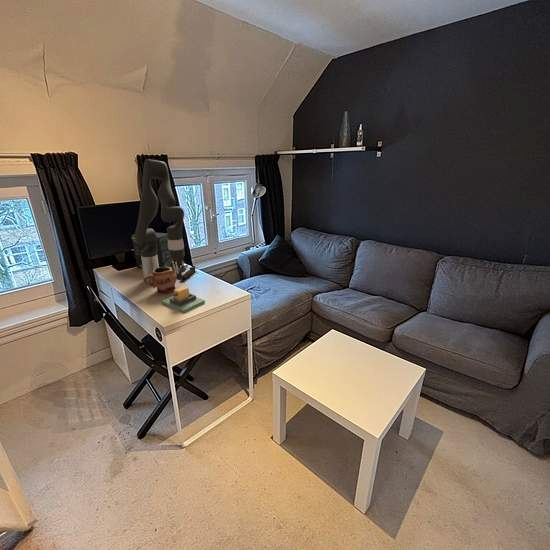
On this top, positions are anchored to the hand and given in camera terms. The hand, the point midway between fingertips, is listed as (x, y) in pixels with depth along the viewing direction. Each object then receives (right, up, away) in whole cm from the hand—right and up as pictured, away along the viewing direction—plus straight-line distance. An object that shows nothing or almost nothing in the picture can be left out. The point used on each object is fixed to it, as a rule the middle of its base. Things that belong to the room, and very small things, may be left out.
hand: (179, 279), depth 154 cm
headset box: (-36, +8, +58) cm, 69 cm away
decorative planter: (-15, -8, +19) cm, 25 cm away
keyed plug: (0, -12, +5) cm, 12 cm away
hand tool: (-8, +1, +43) cm, 43 cm away
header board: (0, -13, +5) cm, 14 cm away
